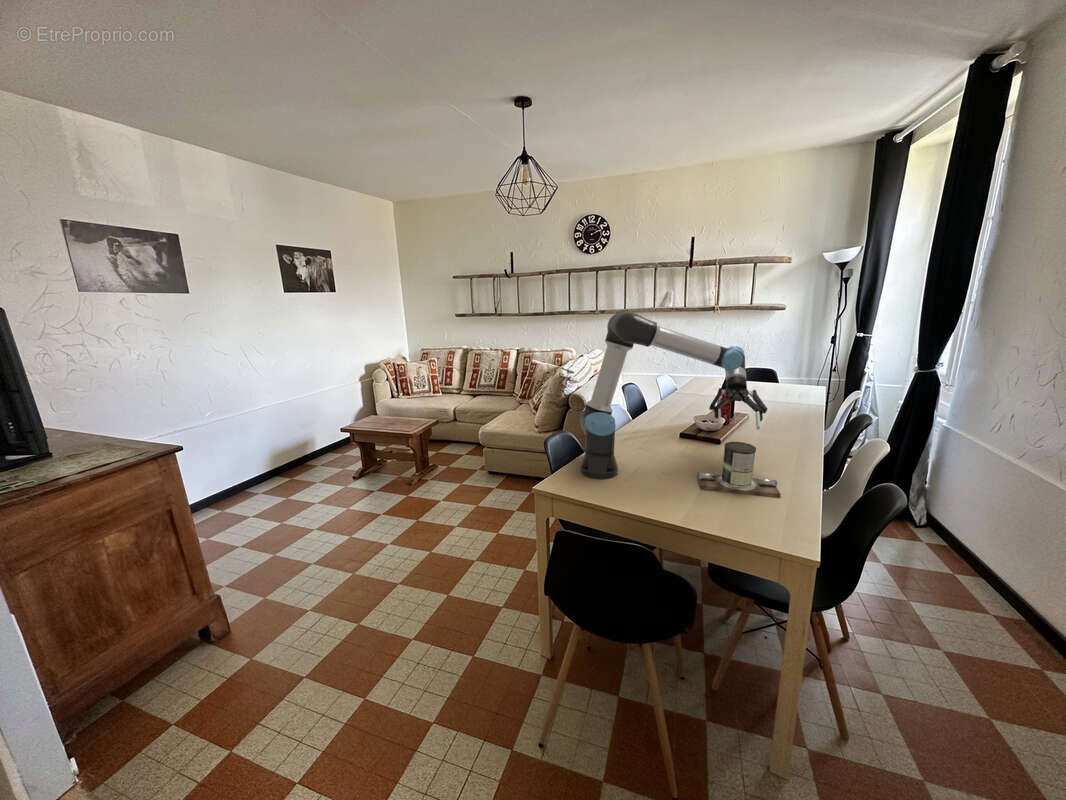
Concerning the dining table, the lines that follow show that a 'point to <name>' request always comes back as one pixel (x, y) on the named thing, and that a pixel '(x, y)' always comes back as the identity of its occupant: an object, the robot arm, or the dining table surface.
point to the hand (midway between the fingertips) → (738, 426)
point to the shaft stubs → (761, 481)
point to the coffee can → (738, 464)
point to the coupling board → (752, 490)
